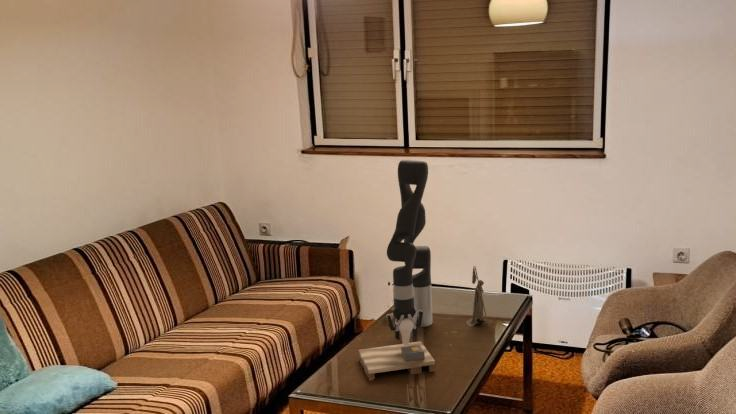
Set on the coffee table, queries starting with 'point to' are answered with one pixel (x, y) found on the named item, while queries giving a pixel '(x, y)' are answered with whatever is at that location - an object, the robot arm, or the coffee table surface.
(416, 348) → the grey box
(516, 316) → the coffee table surface
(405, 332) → the lightbulb
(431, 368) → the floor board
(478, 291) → the wizard figurine
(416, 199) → the robot arm
